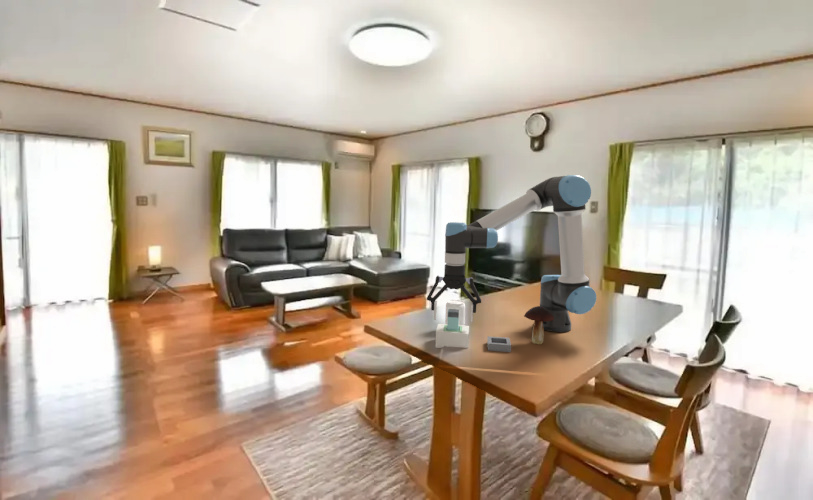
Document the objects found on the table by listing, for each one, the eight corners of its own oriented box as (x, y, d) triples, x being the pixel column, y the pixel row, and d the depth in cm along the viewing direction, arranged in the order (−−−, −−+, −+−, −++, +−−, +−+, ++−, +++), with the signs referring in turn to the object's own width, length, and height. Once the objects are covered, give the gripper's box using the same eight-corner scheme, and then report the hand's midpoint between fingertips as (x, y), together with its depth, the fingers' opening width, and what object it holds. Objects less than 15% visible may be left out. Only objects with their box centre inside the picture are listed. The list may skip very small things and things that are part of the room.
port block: (468, 340, 155) (469, 325, 155) (468, 349, 146) (468, 333, 145) (437, 338, 157) (438, 323, 157) (435, 347, 148) (435, 331, 147)
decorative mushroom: (519, 339, 158) (521, 302, 156) (547, 340, 157) (549, 303, 156) (526, 349, 147) (529, 309, 145) (557, 350, 147) (559, 310, 145)
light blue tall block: (458, 340, 153) (459, 309, 152) (457, 343, 149) (458, 312, 148) (447, 339, 154) (448, 309, 152) (446, 342, 150) (447, 311, 148)
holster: (508, 346, 150) (509, 337, 150) (510, 354, 142) (511, 345, 142) (487, 344, 151) (487, 336, 151) (487, 352, 144) (488, 343, 143)
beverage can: (463, 333, 164) (464, 304, 163) (444, 331, 166) (444, 303, 165) (464, 327, 172) (465, 300, 171) (446, 326, 174) (446, 299, 173)
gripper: (488, 264, 150) (486, 319, 152) (422, 261, 154) (421, 315, 156) (489, 267, 142) (487, 324, 145) (420, 264, 146) (419, 320, 149)
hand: (453, 319), depth 150 cm, fingers open, 13 cm apart
